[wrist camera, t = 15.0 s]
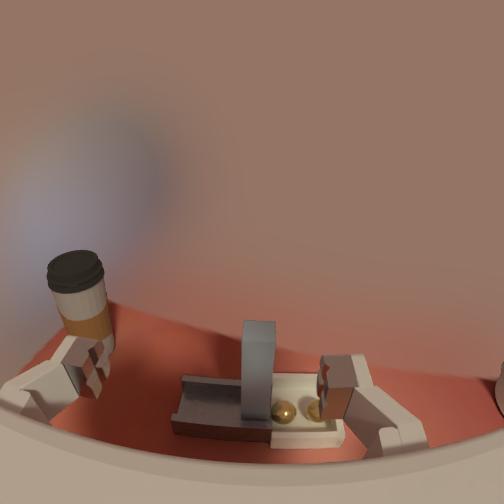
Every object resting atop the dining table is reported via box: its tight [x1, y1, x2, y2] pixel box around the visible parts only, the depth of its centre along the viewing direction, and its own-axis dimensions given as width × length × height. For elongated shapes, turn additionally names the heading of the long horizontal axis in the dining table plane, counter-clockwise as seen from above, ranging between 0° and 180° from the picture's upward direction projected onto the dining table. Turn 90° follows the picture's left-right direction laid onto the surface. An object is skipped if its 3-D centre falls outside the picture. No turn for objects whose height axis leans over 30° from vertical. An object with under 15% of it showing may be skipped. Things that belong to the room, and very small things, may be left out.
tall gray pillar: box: [241, 320, 276, 422], centre depth 32 cm, size 3×4×13 cm
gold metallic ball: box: [306, 399, 326, 423], centre depth 34 cm, size 3×3×3 cm
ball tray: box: [270, 373, 345, 449], centre depth 35 cm, size 8×10×2 cm
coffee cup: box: [47, 250, 115, 356], centre depth 41 cm, size 8×8×15 cm
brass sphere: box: [271, 400, 297, 425], centre depth 34 cm, size 3×3×3 cm
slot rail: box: [171, 375, 273, 442], centre depth 35 cm, size 11×7×3 cm, turn 87°
